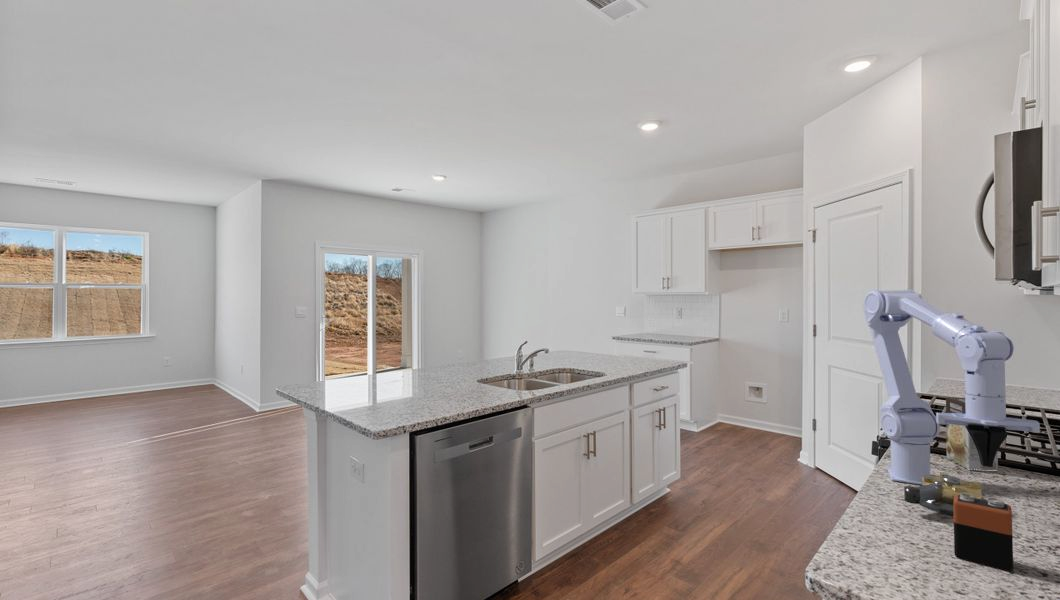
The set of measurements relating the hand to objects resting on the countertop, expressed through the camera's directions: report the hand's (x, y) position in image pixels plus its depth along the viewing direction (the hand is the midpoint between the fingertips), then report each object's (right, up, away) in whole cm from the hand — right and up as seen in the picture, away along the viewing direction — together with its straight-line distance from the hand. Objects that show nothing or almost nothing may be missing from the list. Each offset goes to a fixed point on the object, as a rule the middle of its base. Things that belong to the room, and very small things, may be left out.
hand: (986, 465), depth 95 cm
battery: (-16, -10, -16) cm, 25 cm away
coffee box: (+21, -9, +27) cm, 36 cm away
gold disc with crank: (-7, -8, +3) cm, 11 cm away
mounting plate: (-3, -10, +4) cm, 11 cm away
